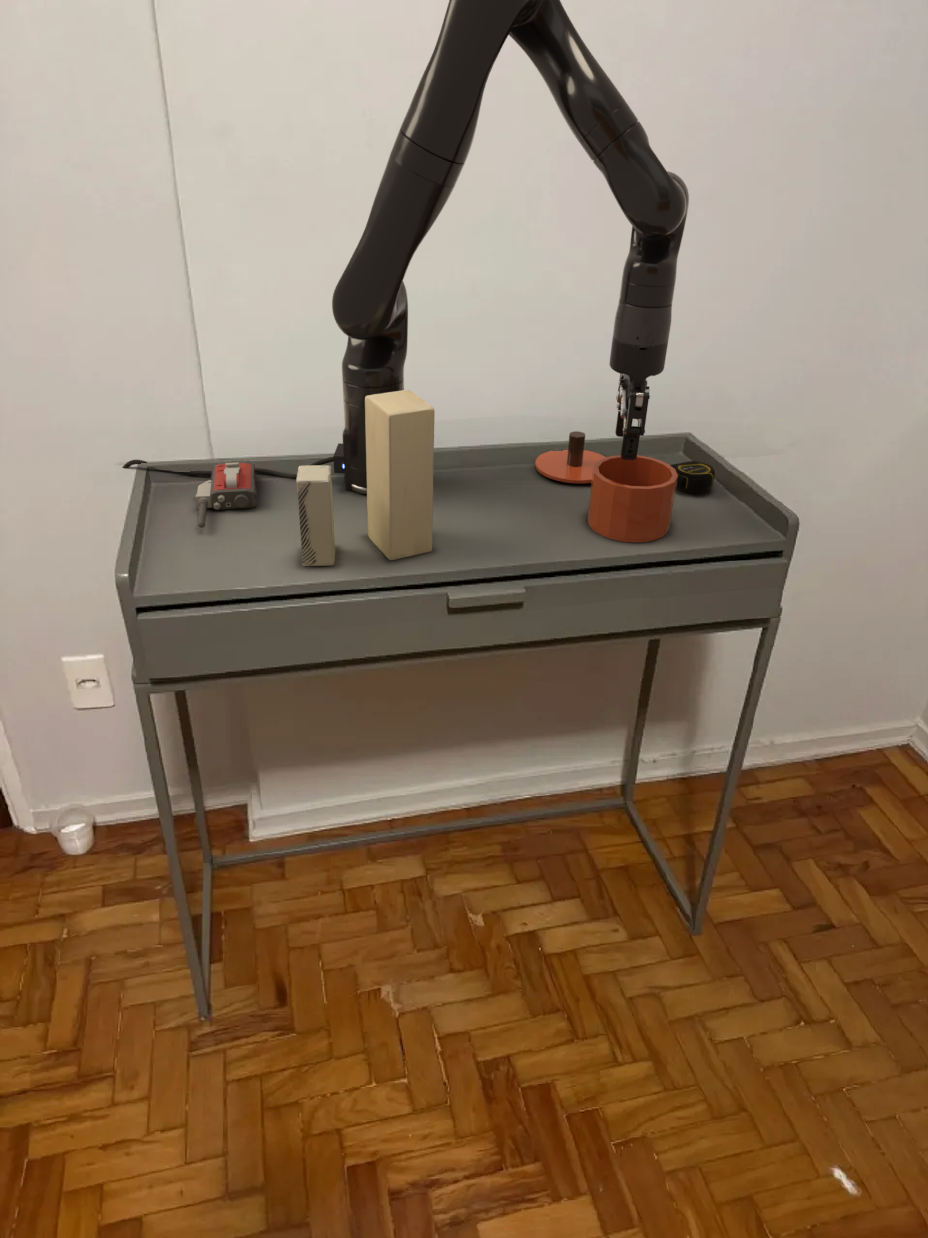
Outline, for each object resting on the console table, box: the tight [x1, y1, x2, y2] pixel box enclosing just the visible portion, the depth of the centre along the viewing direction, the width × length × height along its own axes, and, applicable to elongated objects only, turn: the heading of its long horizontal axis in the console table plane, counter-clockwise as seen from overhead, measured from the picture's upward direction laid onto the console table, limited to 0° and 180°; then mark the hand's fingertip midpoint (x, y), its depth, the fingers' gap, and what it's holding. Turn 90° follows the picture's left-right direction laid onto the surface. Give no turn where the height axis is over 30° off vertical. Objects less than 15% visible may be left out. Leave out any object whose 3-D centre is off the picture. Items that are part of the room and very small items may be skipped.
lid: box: [534, 430, 607, 484], centre depth 153 cm, size 13×13×6 cm
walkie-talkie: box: [195, 460, 257, 529], centre depth 141 cm, size 9×4×20 cm
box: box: [296, 464, 336, 567], centre depth 125 cm, size 5×4×13 cm
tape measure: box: [669, 460, 716, 493], centre depth 149 cm, size 7×7×4 cm
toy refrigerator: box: [365, 389, 436, 561], centre depth 126 cm, size 8×7×21 cm
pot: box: [587, 454, 678, 543], centre depth 137 cm, size 12×12×8 cm
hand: (625, 447), depth 135 cm, fingers open, 8 cm apart
